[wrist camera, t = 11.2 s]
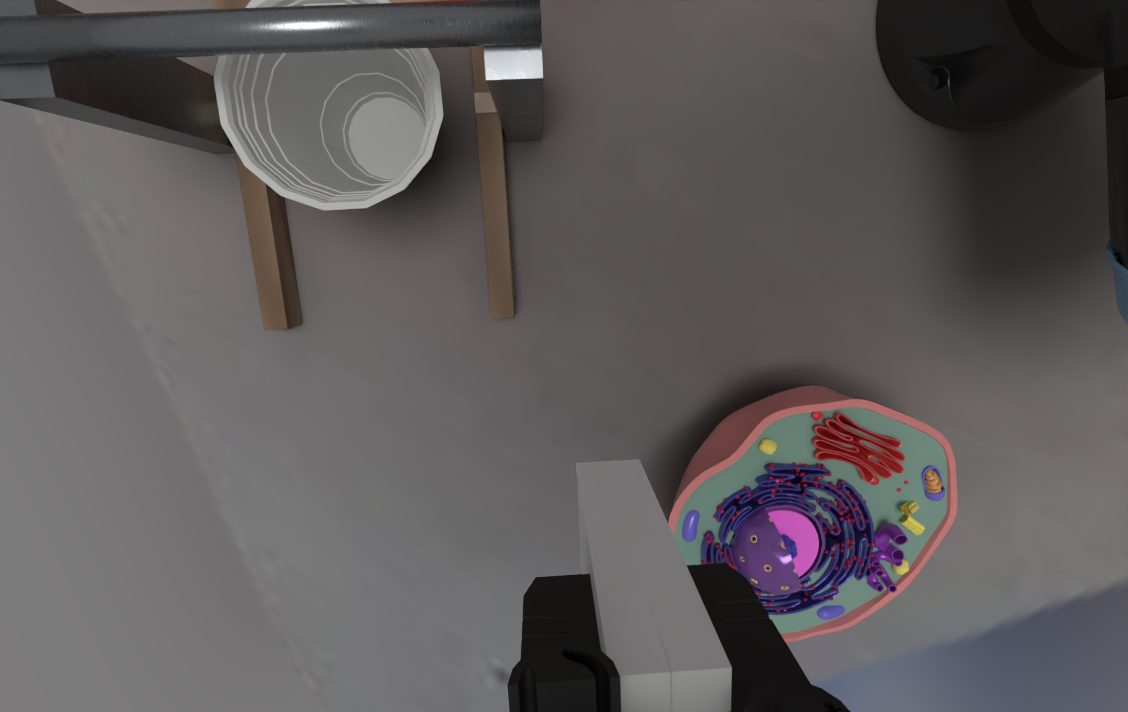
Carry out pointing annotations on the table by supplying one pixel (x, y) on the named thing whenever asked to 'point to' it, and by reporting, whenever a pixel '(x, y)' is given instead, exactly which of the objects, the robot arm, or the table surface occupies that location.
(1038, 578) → the table surface
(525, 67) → the grey and wooden frame
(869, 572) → the cell model
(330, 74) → the plastic cup
